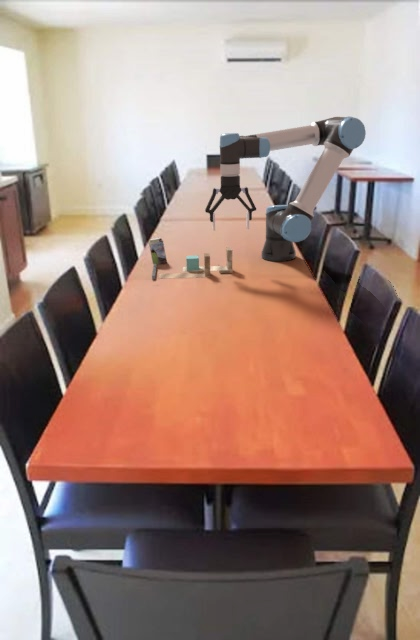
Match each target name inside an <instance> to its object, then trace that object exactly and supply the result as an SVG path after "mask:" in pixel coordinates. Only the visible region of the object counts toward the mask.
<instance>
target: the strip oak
mask: <svg viewBox="0 0 420 640" xmlns="http://www.w3.org/2000/svg"><path fill="white" fill-rule="evenodd" d="M203 256H204V261H203V262H204V263H203V264H204V266H205V271H197V272H173V273H171V272H170V273H158V275H159V276H158V279H159V280H160V279H162V280H163V279H164V280H165V279H166V280H167V279H189V278H190V279H193V278H195V279H196V278H199V279H200V278H211V271H210V266H211V254H210V253H209V252H206V253H203Z"/></svg>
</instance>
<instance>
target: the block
mask: <svg viewBox="0 0 420 640" xmlns="http://www.w3.org/2000/svg"><path fill="white" fill-rule="evenodd" d="M185 257H186V260H185V261H186V267H187V271H191V272H199V271H198V270H199V267H200V258H199V255H198V254H197V255H186V256H185Z"/></svg>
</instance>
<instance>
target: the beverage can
mask: <svg viewBox="0 0 420 640" xmlns="http://www.w3.org/2000/svg"><path fill="white" fill-rule="evenodd" d="M148 244H149V246H148V247H149V250H150V254H151V260H152V264H153V265H154V263H157V265H158V266H159V265H166V264H167V263H168V260H167V259H168V258H167V254H166V249H165V246H164V245H165V244H164V240H163V239H162V237H161V236H158V237H153V238H150V239H149V241H148Z"/></svg>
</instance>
